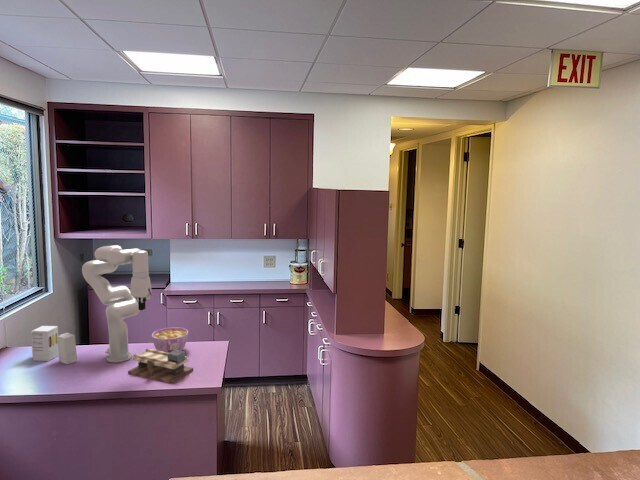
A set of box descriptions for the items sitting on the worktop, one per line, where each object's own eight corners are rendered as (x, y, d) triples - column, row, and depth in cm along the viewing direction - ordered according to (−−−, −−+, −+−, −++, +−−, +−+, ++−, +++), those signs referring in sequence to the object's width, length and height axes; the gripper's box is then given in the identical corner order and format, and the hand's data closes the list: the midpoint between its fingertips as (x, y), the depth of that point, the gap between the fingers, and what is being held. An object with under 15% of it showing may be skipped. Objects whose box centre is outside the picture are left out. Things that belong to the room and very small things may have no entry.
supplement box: (49, 361, 232) (47, 331, 230) (32, 361, 232) (30, 331, 230) (60, 354, 241) (58, 325, 239) (43, 354, 242) (42, 325, 239)
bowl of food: (177, 361, 236) (177, 340, 234) (144, 357, 240) (144, 337, 238) (195, 347, 255) (194, 328, 254) (164, 344, 259) (164, 325, 258)
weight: (167, 362, 215) (167, 353, 215) (175, 357, 221) (175, 349, 220) (177, 364, 213) (177, 355, 213) (185, 359, 219) (185, 351, 218)
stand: (128, 373, 219) (127, 356, 218) (150, 361, 234) (150, 345, 233) (172, 383, 209) (172, 365, 208) (193, 370, 224) (192, 353, 223)
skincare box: (77, 361, 233) (76, 335, 231) (66, 365, 228) (64, 338, 226) (69, 357, 237) (67, 331, 235) (57, 361, 232) (56, 335, 230)
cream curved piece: (130, 361, 219) (130, 356, 219) (150, 351, 232) (150, 346, 231) (172, 370, 210) (172, 365, 210) (189, 360, 223) (189, 355, 222)
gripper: (123, 274, 218) (125, 309, 220) (147, 277, 213) (148, 313, 215) (134, 272, 225) (136, 305, 227) (157, 274, 220) (158, 309, 222)
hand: (142, 309), depth 221 cm, fingers closed
